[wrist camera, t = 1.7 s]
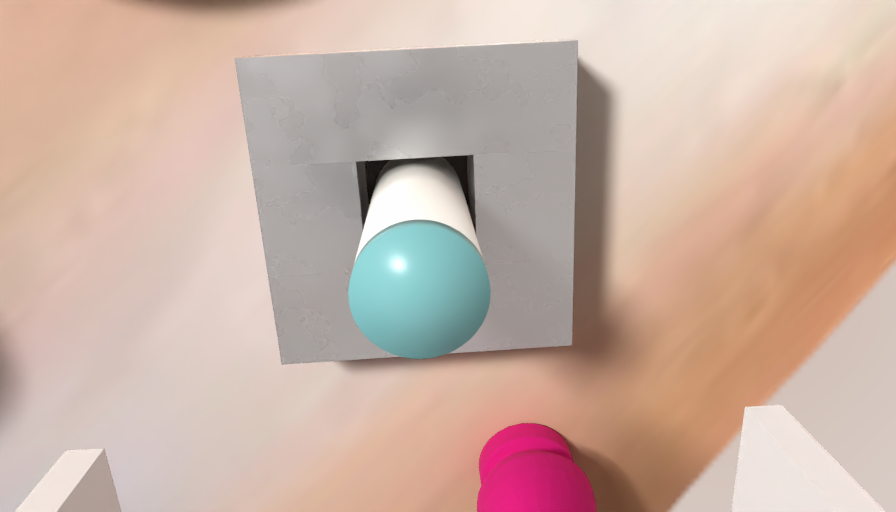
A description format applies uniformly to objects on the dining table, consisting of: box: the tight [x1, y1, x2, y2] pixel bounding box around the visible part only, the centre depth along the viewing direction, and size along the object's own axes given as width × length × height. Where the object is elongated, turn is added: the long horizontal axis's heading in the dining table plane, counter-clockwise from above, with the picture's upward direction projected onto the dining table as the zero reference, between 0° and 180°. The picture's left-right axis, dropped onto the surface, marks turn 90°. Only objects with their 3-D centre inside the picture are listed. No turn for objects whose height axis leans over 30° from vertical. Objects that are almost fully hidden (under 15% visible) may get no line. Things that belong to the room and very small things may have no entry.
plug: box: [348, 157, 491, 359], centre depth 29 cm, size 5×5×15 cm
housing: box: [235, 40, 578, 364], centre depth 34 cm, size 16×16×4 cm
